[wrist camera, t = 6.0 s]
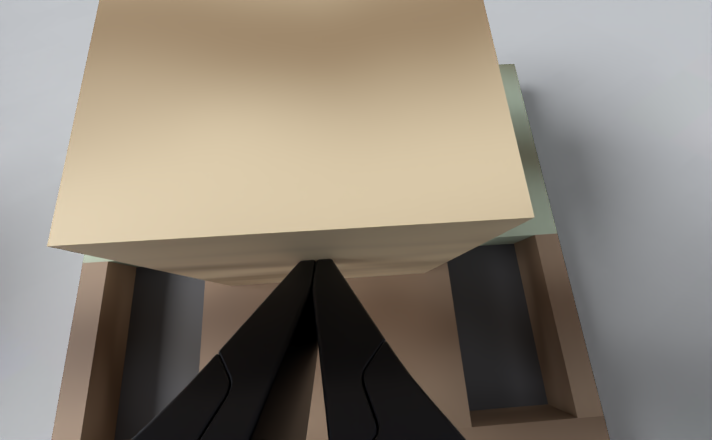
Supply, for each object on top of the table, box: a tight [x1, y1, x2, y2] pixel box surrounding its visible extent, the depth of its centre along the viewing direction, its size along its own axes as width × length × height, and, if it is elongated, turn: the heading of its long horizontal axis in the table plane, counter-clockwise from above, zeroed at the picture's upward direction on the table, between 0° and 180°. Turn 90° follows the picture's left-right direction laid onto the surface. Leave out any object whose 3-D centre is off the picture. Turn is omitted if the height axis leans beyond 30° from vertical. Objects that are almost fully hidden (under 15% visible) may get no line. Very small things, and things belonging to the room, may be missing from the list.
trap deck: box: [51, 64, 610, 440], centre depth 13 cm, size 24×20×2 cm
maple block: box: [47, 0, 534, 286], centre depth 10 cm, size 8×8×8 cm
